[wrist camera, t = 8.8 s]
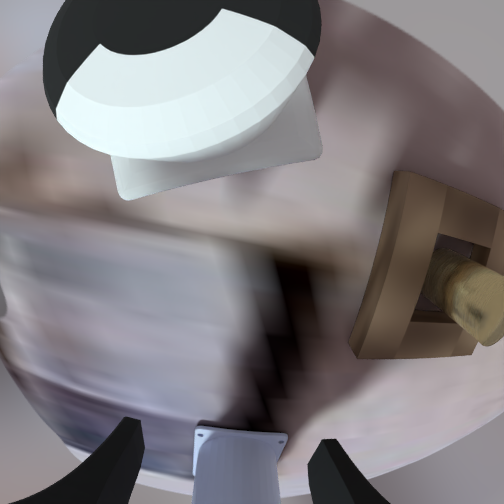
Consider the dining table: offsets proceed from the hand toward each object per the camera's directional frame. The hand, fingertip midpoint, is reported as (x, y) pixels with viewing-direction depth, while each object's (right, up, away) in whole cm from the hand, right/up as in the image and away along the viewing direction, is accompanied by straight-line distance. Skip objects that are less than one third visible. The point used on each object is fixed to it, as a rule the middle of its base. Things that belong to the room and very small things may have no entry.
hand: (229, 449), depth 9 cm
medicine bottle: (-1, +15, +6) cm, 16 cm away
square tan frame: (+15, +6, +8) cm, 18 cm away
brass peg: (+15, +6, +8) cm, 18 cm away
